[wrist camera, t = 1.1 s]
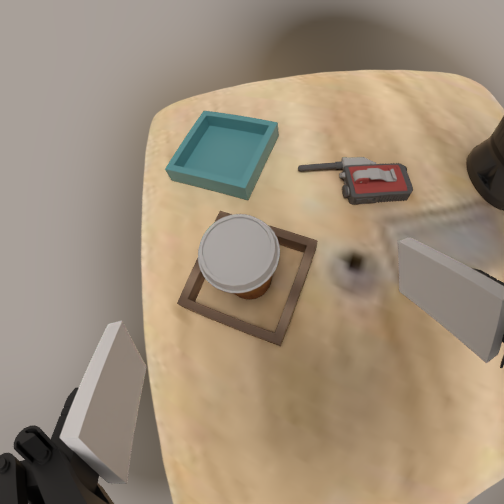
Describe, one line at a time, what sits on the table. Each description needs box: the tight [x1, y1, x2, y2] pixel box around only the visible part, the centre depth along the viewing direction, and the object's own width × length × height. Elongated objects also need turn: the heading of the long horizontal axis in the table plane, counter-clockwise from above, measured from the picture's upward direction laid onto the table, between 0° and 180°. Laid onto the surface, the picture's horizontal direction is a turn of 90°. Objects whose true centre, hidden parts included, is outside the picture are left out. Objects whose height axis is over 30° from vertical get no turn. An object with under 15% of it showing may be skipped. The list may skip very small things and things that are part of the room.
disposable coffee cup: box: [198, 214, 280, 299], centre depth 38 cm, size 10×10×12 cm
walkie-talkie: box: [298, 157, 413, 205], centre depth 46 cm, size 9×4×20 cm
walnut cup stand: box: [177, 211, 317, 346], centre depth 43 cm, size 15×15×3 cm
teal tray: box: [165, 111, 279, 200], centre depth 51 cm, size 15×15×4 cm
